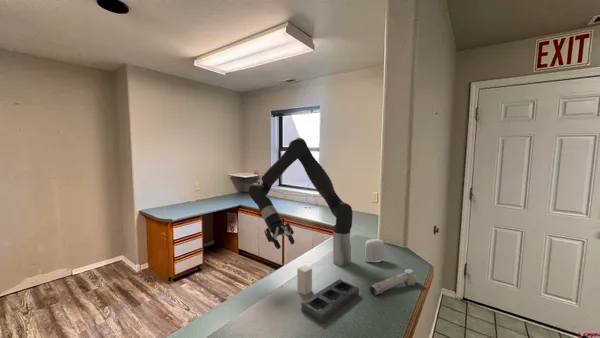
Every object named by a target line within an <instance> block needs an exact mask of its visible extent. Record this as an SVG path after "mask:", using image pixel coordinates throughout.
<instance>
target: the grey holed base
mask: <svg viewBox="0 0 600 338" xmlns="http://www.w3.org/2000/svg"><path fill="white" fill-rule="evenodd" d="M341 289H342V290H341ZM344 291H346V292H344ZM329 296H330V297H331V296H332V298H333V297H334V298H333V299H335V300H331V299H329ZM358 296H360V288H359V287H357V286H355V285H353V284H351V283H349V282H346V281H344V280H342V279H341V278H340V279H338V280H336V281H334V282H333V283H331V284H329V285H327V286H326V287H325V288H323V289H321V290H319V291H318V292H316V293H315V294H313V295H311V296H309V297H308V298H306V299H305V300H303V301H302V302H301V304H300V305H301V308H300V310H301V311H302V312H303V311H304V312H303V313H305V314H306V313H307V314H306V315H307V316H309V315H310V316H309V317H311V318H312V317H313V318H312V319H313V320H315V319H316V321H317V322H319V323H320V324H323V323H324V322H326V321H327V320H328V319H330V318H331V317H332V316H334V315H335V314H336V313H337V312H339V311H340V310H342V309H343V308H344V307H346V306H347V305H349V303H351V302H352V301H353V300H354V299H355V298H357V297H358ZM317 304H318V305H317ZM319 305H320V307H321V308H322V309H321V310H318V309H316V308H315V307H316V306H319ZM314 306H315V307H314Z"/></svg>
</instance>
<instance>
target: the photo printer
mask: <svg viewBox="0 0 600 338" xmlns="http://www.w3.org/2000/svg"><path fill="white" fill-rule="evenodd" d="M364 248H365V249H364V250H365V251H364V260H365V261H364V262H366V261H367V262H371V261H376V260H380V259H383V258H384V257H385V243H384V241H383V240H382V239H377V238H373V239H368V240H365V245H364ZM367 262H366V263H367Z"/></svg>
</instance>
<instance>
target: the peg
mask: <svg viewBox="0 0 600 338" xmlns="http://www.w3.org/2000/svg"><path fill="white" fill-rule="evenodd" d="M296 274H297V283H296V284H297V292H298V293H300V294H302V295H303V296H306V295H308V294H310V293H312V292H313V268H312V267H309V266H308V265H305V264H304V265H302V266H300V267H298V268H297V273H296Z"/></svg>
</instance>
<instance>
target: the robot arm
mask: <svg viewBox="0 0 600 338" xmlns="http://www.w3.org/2000/svg"><path fill="white" fill-rule="evenodd" d="M297 160H299V162H300V164H301V165H302V166H303V169H304V172H305V173H306V175H307V177H308V180H309V181H310V182H311V183H312V185H313V186H314V188H315V189H316V190H317V192H318V193H319V194H320V196H321V197H322V198H323V200H324V201H325V202H326V205H327V206H328V208H329V210H330V211H331V213H332V215H333V216H334V217H335V224H334V225H333V226H332V230H333V231H332V233H333V234H332V236H333V238H332V239H333V240H332V246H333V247H332V248H333V249H332V263H333V264H334V265H336V266H340V267H347V266H349V265H350V264H351V262H352V244H351V229H352V227H353V208H352V206H351V205H350V204H348V203H347V202H344V201H343V200H342V199H341V198H340V197H339V195H338V193H337V192H336V190H335V188H334V185H333V182H332V180H331V178H330V176H329V175H328V173H327V172H326V170H325V169H324V167H323V166H322V165H321V164H320V163H319V162H318V160H316V158H315V157H314V155H313V153H312V151H311V150H310V148H309V147H308V144H307V142H306V140H305V139H304V138H302V137H293V138H292V139H291V140H290V142H289V143H288V146H287V148H286V149H285V151H284V153H283V154H282V155H281V156H280V158H278V160H276V161H275V162H274V163H273V164H272V165H271V166H270V167H269V168H268V170H266V171H265V173H264V174H263V175H261V181H262V182H261V183H251V184H250V185H249V186H248V195H249V197H250V198H251V199H252V201H253V202H254V203H255V204H256V206H257V208H258V209H259V211H260V212H261V216H262V218H263V220H264V222H265V224H266V228H265V230H264V235H265V237H266V239H267V241H268V242H269V243H273V245H274V247H275V248H276V250H280V249H281V247H282V246H281V244H280V243H279V240H278V237H279V236H283V237H286V238H287V239H288V241H289V243H290V245H294V244H295V242H296V241H295V239H294V237H293V235H294V234H295V231H294V230H293V228H292V227H291V225H290V223H288V222H286V224H284V223H283V220H282V218H281V216H280V214H279V212H278V210H277V209H276V207H275V206H274V203H273V202H272V200H271V199H270V197H268V196H267V195H268V194H269V192H270V190H271V188H272V187H273V185H274V184H275V183H276V182H277V180H279V179H280V178H281V176H282V175H283V174H284V173H285V172H286V170H287V169H288V168H289V167H290V166H291V165H292V164H294V162H296V161H297Z"/></svg>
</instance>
